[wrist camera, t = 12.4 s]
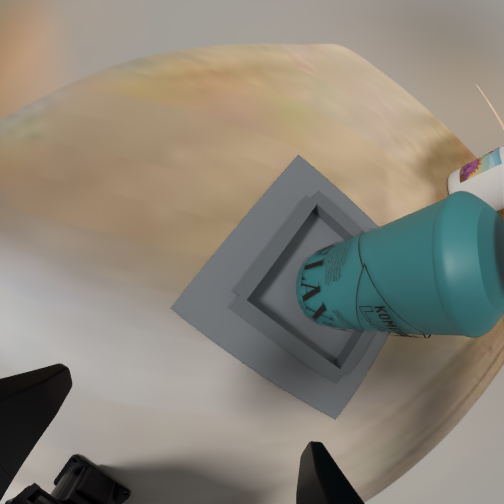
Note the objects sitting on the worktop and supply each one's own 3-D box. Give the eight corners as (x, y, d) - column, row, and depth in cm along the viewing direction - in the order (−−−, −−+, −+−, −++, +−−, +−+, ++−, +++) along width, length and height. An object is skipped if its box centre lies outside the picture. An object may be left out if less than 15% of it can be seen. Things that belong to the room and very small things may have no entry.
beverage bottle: (295, 242, 23) (514, 106, 4) (358, 264, 24) (566, 196, 5) (276, 318, 22) (553, 327, 3) (344, 334, 23) (575, 343, 4)
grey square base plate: (332, 417, 22) (343, 424, 20) (170, 308, 21) (169, 308, 19) (415, 270, 27) (428, 267, 25) (296, 156, 26) (304, 146, 24)
